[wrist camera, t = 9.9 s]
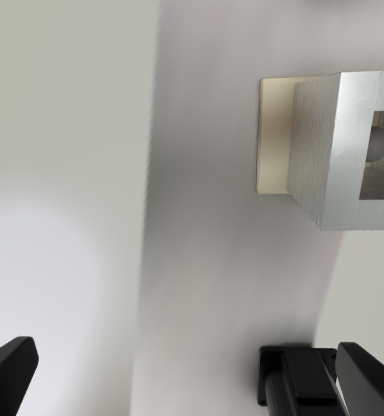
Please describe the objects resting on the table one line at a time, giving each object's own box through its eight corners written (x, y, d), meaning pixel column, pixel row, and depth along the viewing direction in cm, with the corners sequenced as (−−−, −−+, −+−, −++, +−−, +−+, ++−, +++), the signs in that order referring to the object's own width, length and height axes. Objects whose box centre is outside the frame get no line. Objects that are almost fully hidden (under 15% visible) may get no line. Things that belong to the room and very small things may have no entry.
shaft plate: (408, 187, 19) (469, 213, 15) (256, 190, 20) (269, 216, 15) (433, 72, 17) (516, 60, 12) (260, 79, 18) (277, 71, 13)
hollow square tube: (388, 188, 18) (474, 229, 12) (286, 189, 19) (321, 230, 13) (411, 78, 16) (527, 64, 10) (294, 83, 17) (341, 72, 11)
